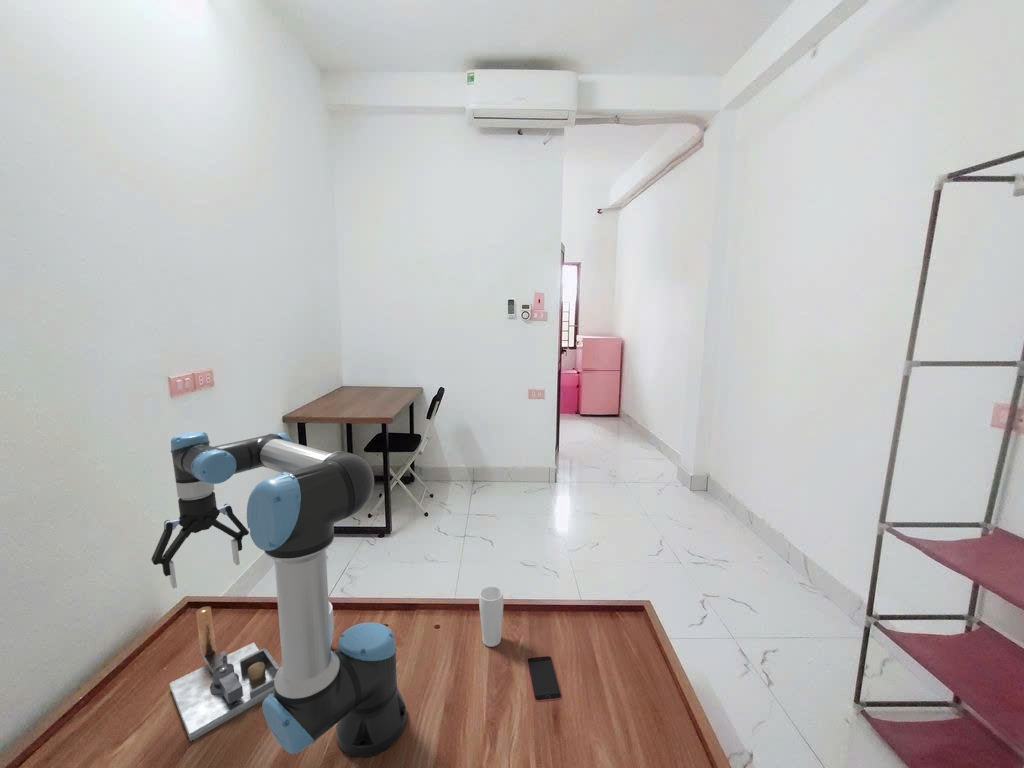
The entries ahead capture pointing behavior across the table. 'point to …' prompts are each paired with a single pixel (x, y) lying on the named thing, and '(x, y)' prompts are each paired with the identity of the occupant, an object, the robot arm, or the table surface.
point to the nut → (256, 673)
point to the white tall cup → (491, 615)
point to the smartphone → (543, 679)
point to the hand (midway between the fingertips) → (206, 574)
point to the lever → (216, 658)
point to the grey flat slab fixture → (207, 703)
